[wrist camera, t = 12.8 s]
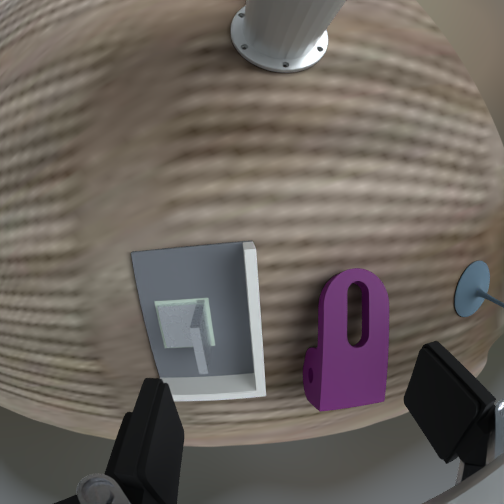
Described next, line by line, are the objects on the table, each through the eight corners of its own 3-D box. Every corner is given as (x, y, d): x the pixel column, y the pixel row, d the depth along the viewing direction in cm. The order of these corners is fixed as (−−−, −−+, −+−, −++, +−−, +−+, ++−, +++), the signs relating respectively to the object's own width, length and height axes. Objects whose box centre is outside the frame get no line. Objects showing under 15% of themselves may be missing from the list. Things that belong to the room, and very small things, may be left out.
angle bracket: (204, 301, 34) (199, 327, 27) (211, 342, 36) (208, 373, 29) (158, 304, 34) (144, 330, 27) (168, 344, 35) (157, 375, 28)
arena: (132, 251, 33) (119, 261, 28) (252, 240, 34) (255, 248, 29) (162, 381, 37) (156, 400, 33) (262, 375, 38) (266, 395, 34)
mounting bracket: (304, 276, 42) (301, 394, 38) (323, 267, 34) (319, 411, 29) (360, 278, 42) (357, 389, 38) (388, 269, 34) (384, 401, 30)
